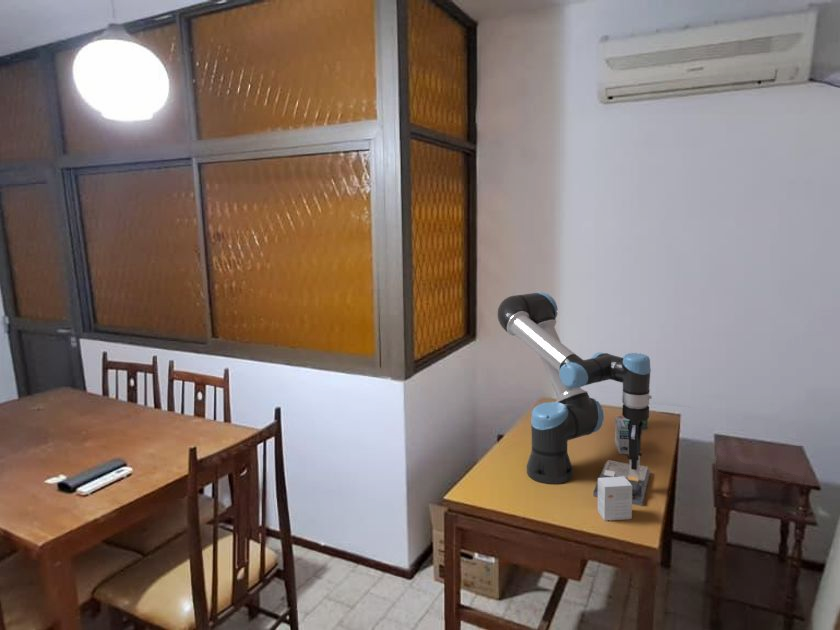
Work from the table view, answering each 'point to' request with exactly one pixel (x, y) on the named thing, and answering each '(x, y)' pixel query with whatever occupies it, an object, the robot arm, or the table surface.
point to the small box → (614, 498)
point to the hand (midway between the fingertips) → (634, 476)
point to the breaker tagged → (634, 484)
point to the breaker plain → (609, 473)
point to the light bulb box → (622, 434)
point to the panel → (623, 470)
